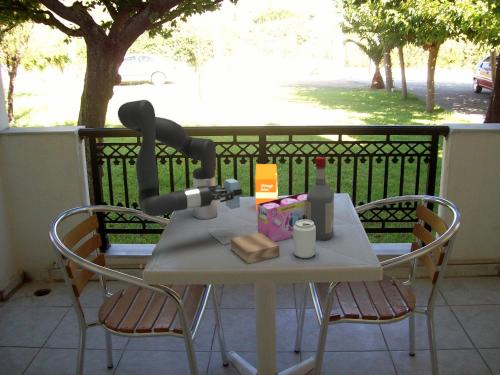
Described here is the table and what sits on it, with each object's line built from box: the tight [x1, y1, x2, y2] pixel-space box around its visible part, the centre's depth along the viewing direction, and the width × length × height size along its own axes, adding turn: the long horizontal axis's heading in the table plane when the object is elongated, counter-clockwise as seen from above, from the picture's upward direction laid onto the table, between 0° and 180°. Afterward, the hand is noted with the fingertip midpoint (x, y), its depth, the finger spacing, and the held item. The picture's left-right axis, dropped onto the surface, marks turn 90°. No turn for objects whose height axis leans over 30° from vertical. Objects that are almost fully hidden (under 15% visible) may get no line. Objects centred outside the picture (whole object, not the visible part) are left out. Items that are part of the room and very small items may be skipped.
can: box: [293, 220, 317, 259], centre depth 177 cm, size 8×8×12 cm
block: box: [224, 178, 241, 210], centre depth 193 cm, size 4×5×10 cm
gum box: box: [256, 192, 309, 243], centre depth 196 cm, size 24×8×14 cm, turn 122°
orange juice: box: [254, 163, 279, 212], centre depth 224 cm, size 8×9×20 cm
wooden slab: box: [230, 232, 280, 265], centre depth 181 cm, size 12×14×4 cm
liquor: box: [307, 156, 335, 242], centre depth 190 cm, size 9×9×30 cm
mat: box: [208, 224, 254, 246], centre depth 198 cm, size 14×14×1 cm
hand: (238, 189), depth 194 cm, fingers closed on block, 5 cm apart
